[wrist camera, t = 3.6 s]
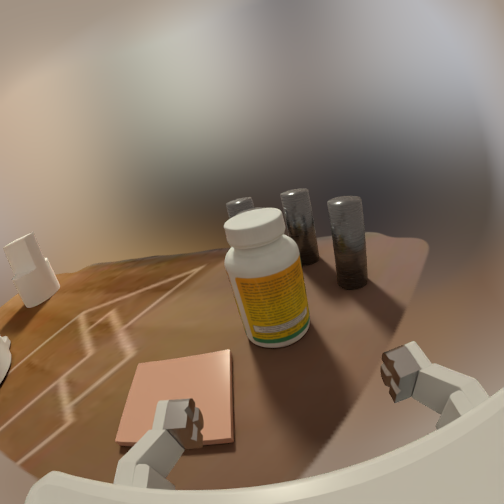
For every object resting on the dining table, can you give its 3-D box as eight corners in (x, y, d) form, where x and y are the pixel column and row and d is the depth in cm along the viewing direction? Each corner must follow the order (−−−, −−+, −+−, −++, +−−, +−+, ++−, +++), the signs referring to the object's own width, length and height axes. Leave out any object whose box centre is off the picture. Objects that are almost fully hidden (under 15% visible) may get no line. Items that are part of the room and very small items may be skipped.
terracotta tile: (119, 445, 14) (115, 441, 14) (141, 368, 21) (138, 363, 21) (233, 442, 14) (231, 437, 13) (231, 354, 21) (229, 349, 21)
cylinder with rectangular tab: (67, 281, 47) (43, 225, 42) (42, 305, 39) (14, 244, 34) (42, 287, 48) (20, 236, 43) (18, 309, 40) (-8, 254, 35)
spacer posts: (247, 317, 25) (222, 235, 22) (242, 262, 36) (226, 201, 33) (372, 284, 25) (367, 201, 22) (333, 239, 36) (323, 179, 33)
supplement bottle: (235, 330, 24) (201, 226, 20) (283, 301, 26) (261, 201, 22) (272, 361, 19) (238, 239, 16) (324, 324, 22) (307, 208, 18)
